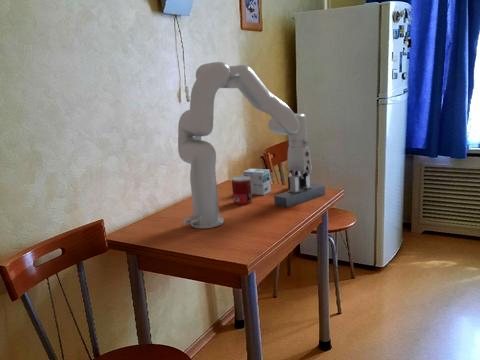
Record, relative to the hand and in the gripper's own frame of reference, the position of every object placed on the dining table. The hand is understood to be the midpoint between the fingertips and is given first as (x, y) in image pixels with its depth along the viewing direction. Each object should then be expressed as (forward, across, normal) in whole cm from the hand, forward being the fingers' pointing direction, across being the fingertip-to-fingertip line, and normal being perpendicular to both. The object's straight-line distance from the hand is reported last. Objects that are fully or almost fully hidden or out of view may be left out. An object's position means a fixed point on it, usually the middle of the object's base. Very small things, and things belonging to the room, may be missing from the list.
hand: (300, 186), depth 186 cm
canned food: (+6, +17, +18) cm, 26 cm away
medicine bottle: (+6, +13, -12) cm, 19 cm away
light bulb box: (+6, +24, +3) cm, 25 cm away
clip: (+3, 0, 0) cm, 3 cm away
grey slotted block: (+6, 0, 0) cm, 6 cm away
